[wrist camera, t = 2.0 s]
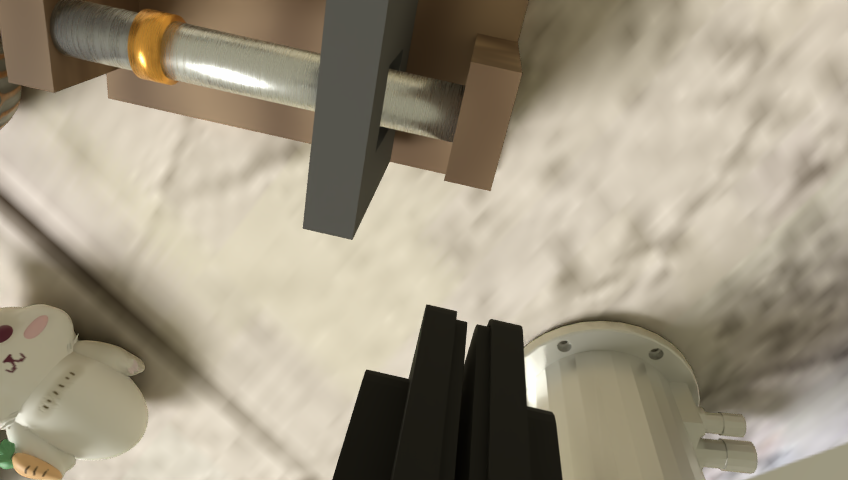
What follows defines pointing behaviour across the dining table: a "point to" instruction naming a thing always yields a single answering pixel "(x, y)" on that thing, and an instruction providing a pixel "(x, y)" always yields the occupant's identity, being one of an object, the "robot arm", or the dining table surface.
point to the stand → (303, 28)
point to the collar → (353, 109)
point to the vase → (7, 93)
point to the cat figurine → (63, 394)
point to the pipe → (236, 64)
